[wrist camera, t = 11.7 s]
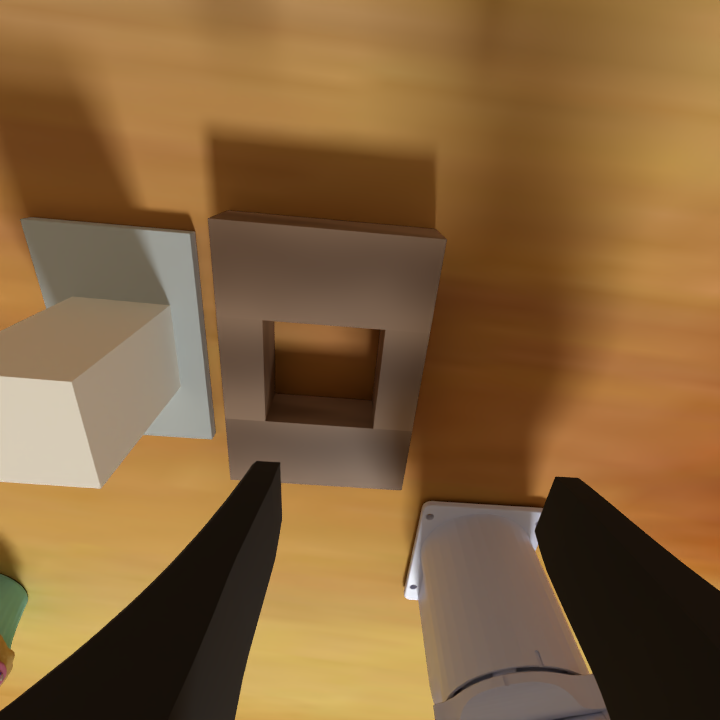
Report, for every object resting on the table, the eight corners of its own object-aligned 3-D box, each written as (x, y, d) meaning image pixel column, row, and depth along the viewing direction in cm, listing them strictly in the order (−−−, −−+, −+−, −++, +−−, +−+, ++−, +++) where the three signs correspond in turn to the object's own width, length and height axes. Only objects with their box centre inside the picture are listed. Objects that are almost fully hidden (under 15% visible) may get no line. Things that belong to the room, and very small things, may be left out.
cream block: (180, 386, 20) (101, 488, 14) (92, 379, 20) (-28, 479, 14) (170, 305, 18) (71, 382, 12) (72, 296, 18) (-80, 369, 12)
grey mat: (215, 432, 22) (212, 439, 22) (88, 424, 22) (82, 430, 21) (195, 231, 17) (189, 233, 17) (30, 217, 17) (19, 219, 16)
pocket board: (397, 458, 23) (401, 490, 21) (243, 448, 23) (230, 479, 21) (435, 229, 17) (447, 239, 15) (227, 210, 17) (207, 218, 15)
